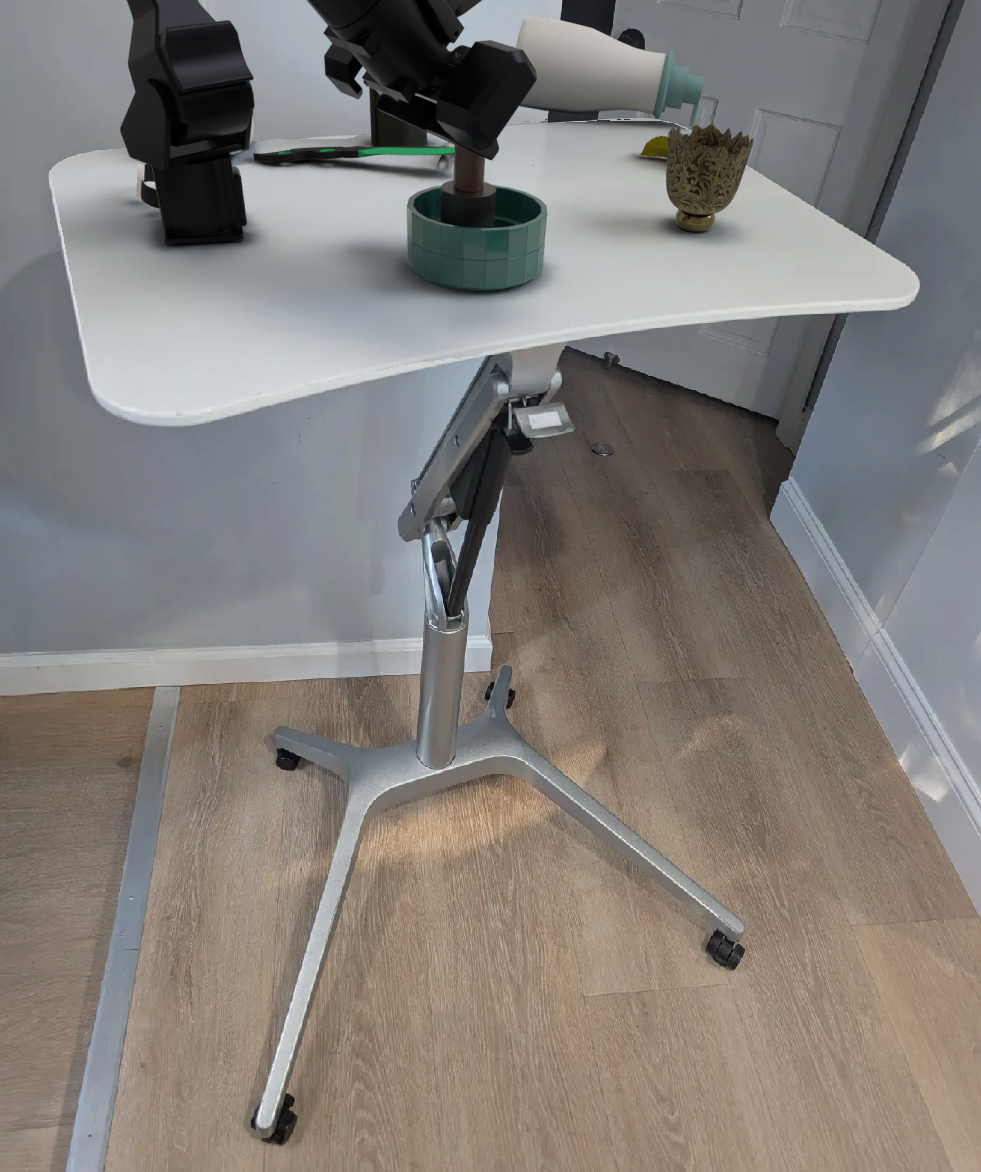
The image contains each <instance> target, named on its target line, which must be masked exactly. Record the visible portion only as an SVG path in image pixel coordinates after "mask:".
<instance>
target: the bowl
mask: <svg viewBox="0 0 981 1172" xmlns="http://www.w3.org/2000/svg"><path fill="white" fill-rule="evenodd" d="M492 185H493V186H494V187H495V188H496V202H495V220H494V228H470V227H461V226H455V225H449V224H444V223H441V222H440V208H441V185H435V186H430V187H427V188H424V189H421V190H419V191H417V192H415V193H414V194H412V195H411V196H410V197H408V200H407V204H406V234H407V235H406V247H407V248H406V249H407V251H406V252H407V255H406V256H407V263H408V265H409V266H410V268H411V270H412V271H413V272H415V273H416V274H418V275H419V276H421V277H422V278H424V279H426V280H428V281H430V282H432V283H434V284H437V285H439V286H443V287H445V288H450V289H454V290H461V291H467V292H493V291H500V290H501V291H502V290H506V289H511V288H515V287H517V286H520V285H523V284H525V283H527V282H528V281H531V280H534V279H535V278H536V277H538V275H539V274H540V273H541V272H542V270H543V269H544V259H545V257H544V256H545V246H546V233H547V224H548V223H547V222H548V206H547V205H546V203H545V202H543V200H541V198H539V197H537V196H535V195H533V194H531V193H529V192H528V191H527V192H526V191H523V190H520V189H516V188H513V187H509V186H504V185H498V184H492Z"/></svg>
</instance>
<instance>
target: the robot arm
mask: <svg viewBox="0 0 981 1172" xmlns="http://www.w3.org/2000/svg"><path fill="white" fill-rule="evenodd" d="M482 1H483V0H306V2H307V3H308V4H309V5H310V7H311V8H312V9H313V10H314V11H315V12H316V14H317V15H318V16H319V17H320V18H321V19H322V21H324V23H325V24H326V25H327V26H326V28H325V29H324V31H323V35H324V36H325V37H326V38H327V39H328V40H329V42H330V43H331V44H330V46H329V48H328V49H327V51H326V52H325V53H324V56H323V60H324V61H323V62H324V75H325V77H326V78H327V79H328V80H329V81H330V83H332V85H334V87H335V88H336V89H337V90H338V91H339V92H340V93H341V94H344V95H347V96H348V97H351V98H354V99H356V100H360V99H361V97H362V95H363V94H364V91H363V87H362V86H361V85H360V84H359V82H358V81H357V80H356V77H357V76H358V74H359V73H360V71H361V70H362V68H363V69H364V70H365V72H364V74H363V75H362V77H361V79H362V80H363V81H362V83H363V84H364V85H365V86H366V87H367V88H368V89H369V88H372V89H374V90H376V91H377V92H378V93H379V94H380V97H379V98H378V100H377V102H376V108H377V109H378V110H380V111H382V112H384V113H386V114H388V115H391V116H393V117H395V118H397V119H399V120H402V121H404V122H406V123H408V124H410V125H412V126H415V127H417V128H419V129H421V130H423V131H426V132H427V134H430V135H433V136H434V137H436V138H438V139H441V140H444V141H445V142H447V143H448V142H450V143H452V144H454V145H455V144H457V145H459V146H461V147H463V148H465V149H467V150H469V151H471V152H473V153H476V154H478V155H480V156H482V157H484V158H485V160H486V159H487V160H489V161H493V160H494V158H495V157H496V156H497V155H498V153H499V151H500V145H499V141H498V138H499V136H500V135H501V133H502V132H503V131H504V129H505V128H506V126H507V125H508V123H509V122H510V120H511V119H512V117H513V116H514V114H515V113H516V111H517V110H518V108H519V107H520V106H519V105H520V104H521V103H522V101H523V100H524V98H525V97H526V95H527V94H528V92H529V91H530V89H531V88H532V87H533V85H534V84H535V82H536V81H537V72H536V69H535V68H534V66H533V65H532V63H531V62H530V60H529V58H528V57H527V55H526V54H525V52H524V51H523V50H522V49H518V48H516V46H515V47H514V46H511V45H509V44H505V43H502V42H498V41H495V40H491V39H488V40H478V41H477V40H475V41H474V42H473V44H472V46H471V47H470V46H469V45H468V46H467V45H464V44H460V45H458V46H456V47H455V48H453V49H452V50H449V49H448V48H447V47H448V46H449V45H450V44H455V43H456V42H457V40H458V39H459V38H460V36H461V34H462V33H463V31H464V30H465V27H464V25H463V23H461V21H460V19H459V17H462V16H463V15H465V14H466V13H468V12H469V11H470V10H471V9H473V8H474V7H476V6H477V5H478V4H480V3H481V2H482ZM126 3H127V5H128V9H129V11H130V14H131V18H132V29H131V36H130V43H129V50H128V57H127V67H128V71H129V75H130V79H131V81H132V86H133V89H134V94H133V96H132V99H131V101H130V104H129V105H128V108H127V111H126V113H125V115H124V118H123V119H122V122H121V124H120V127H119V132H120V135H121V137H122V141H123V143H124V146H125V149H126V151H127V153H128V156H129V158H131V159H133V160H135V161H138V162H140V163H141V162H143V163H145V164H149V165H151V166H152V170H153V175H154V181H155V182H154V186H155V189H156V191H157V197H158V202H159V207H160V209H159V212H160V217H161V230H162V240H163V244H165V245H182V244H198V243H200V244H201V243H202V244H203V243H217V242H218V243H220V242H235V241H243V240H244V239H245V234H244V229H243V227H246V226H247V225H248V221H247V211H246V204H245V199H244V198H245V196H244V189H243V181H242V175H241V171H240V168H239V167H238V166H236V165H235V166H233V161H232V155H230V153H232V152H236V151H240V150H241V151H242V152H244V151H248V150H249V149H250V146H249V144H250V135H251V126H252V117H253V110H254V109H255V105H256V103H255V94H254V90H253V86H252V84H251V81H253V80H254V75H253V73H252V71H251V70H250V68H249V67H248V64H247V62H246V59H245V57H244V53H243V50H242V46H241V41H240V36H239V32H238V30H237V29H236V28H235V26H234V24H233V22H232V21H231V20H229V19H225V20H217V21H216V20H215V19H214V17H213V16H212V14H210V13H209V12H208V11H207V10H206V9H205V7H204V6H203V5H202V4H201V3H200V1H199V0H126ZM250 145H251V144H250Z"/></svg>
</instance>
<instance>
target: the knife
mask: <svg viewBox="0 0 981 1172" xmlns="http://www.w3.org/2000/svg"><path fill="white" fill-rule="evenodd" d="M252 155H253V161H255V162H260V163H262V162H263V163H288V162H289V163H290V162H296V161H302V160H320V161H321V160H322V161H323V160H325V161H326V160H335V159H336V160H337V159H360V158H367V157H373V156H385V155H386V156H387V155H388V156H392V155H393V156H441V155H452V156H454V147H446V146H435V145H428V144H426V145H421V146H387V147H380V146H365V145H354V146H353V145H352V146H312V147H311V146H310V147H296V148H290V149H286V150H279V151H273V152H271V151H270V152H264V153H263V152H262V153H260V152H259V153H256V152H255V153H252Z"/></svg>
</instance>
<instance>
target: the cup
mask: <svg viewBox="0 0 981 1172" xmlns="http://www.w3.org/2000/svg"><path fill="white" fill-rule="evenodd" d="M691 128H692V127H691ZM732 136H733V135H732V132H731V128H730V127H728V128H727V129H726V130H725V131H724V133H722V132H721V131H720V130H719V128H717V127H716V126H715V125H714V124H712V123H711V124H709V125H707V126H705V127H703V128H702V127H701V126H700V125H698V124H694V125H693V128H692V129H691V133H690V134H689V133H681V126H678V127H675V126H671V127H670V129H669V131H668V132H667V137H668V138H669V139H668V147H667V158H666V165H665V166H666V167H665V168H666V169H665V187H666V194H667V197H668V200H669V201H670V203H671V204H672V205H673V206H674V207H675V208H676V209H677V211H676V213H675V217H674V218H675V222H676V225H677V226H678V227H680V228H681V229H683V230H685V231H689V232H699V233H700V232H705V231H709V230H711V228H713V226H714V225H715V223H716V220H717V219H716V214H718V213H720V212H722V211H724V210H725V209H726V208H727V207H728V206H729V205H730V204H731V203H732V202H733V200H734V198H735V196H736V194H737V192H738V190H739V187H740V186H741V185H740V184H741V183H742V179H743V176H744V173H745V170H746V168H747V165H748V161H749V158H750V155H751V152H752V149H753V146H754V140H755V139H754V137H753V138H751V139H750V136H749V134H746V135H743V131H742V130H741V131H739V132H738V133H737V134H736V135H735V136H733V137H732Z"/></svg>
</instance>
